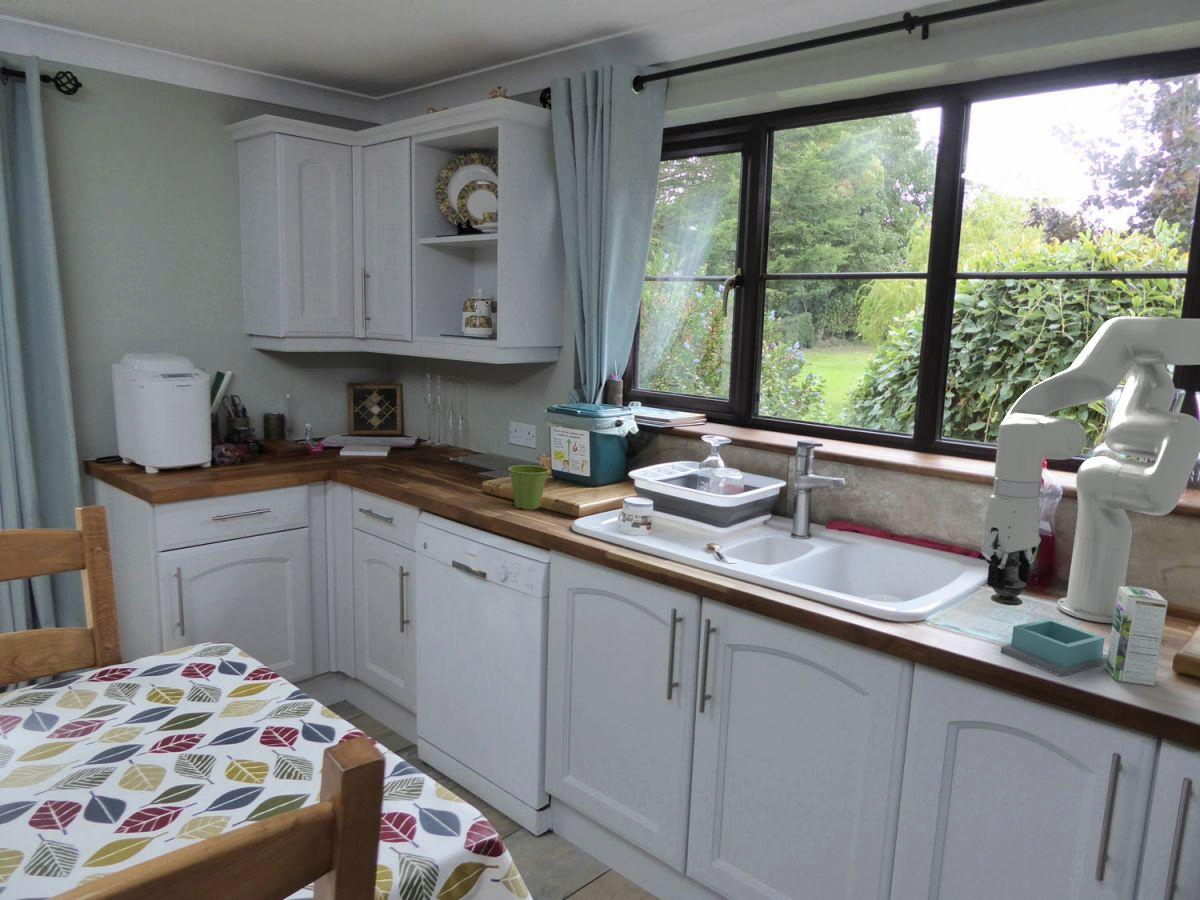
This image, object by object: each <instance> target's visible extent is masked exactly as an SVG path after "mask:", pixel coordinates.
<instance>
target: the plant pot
mask: <svg viewBox="0 0 1200 900" xmlns="http://www.w3.org/2000/svg"><path fill="white" fill-rule="evenodd" d="M507 470H508V471H509V473H510V479H511V482H512V490H513V492H512V493H513V499H514V500H513V501H514V507H515V508H516V509H523V510H526V511H527V510H536V509H539V508H541V504H540V498H541V496H542V497H543V494H544V489H545V484H546V480H547V478H548V473H549V472H550V470H551V469H549V468H548V467H544V466H540V465H531V464H530V465H528V464H527V465H526V464H525V465H523V464H522V465H512V466H509V467H508V468H507Z"/></svg>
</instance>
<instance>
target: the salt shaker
mask: <svg viewBox="0 0 1200 900" xmlns="http://www.w3.org/2000/svg"><path fill="white" fill-rule="evenodd" d="M1019 552H1020V551H1017V552H1012V553H1009V554H1008V557H1007V560H1006V563H1005V566H1004V568H1005V569H1007V570H1006V581H1005V589H1004V590H999V589H996V588H993V587H992V589H993V591H994V592H995V594H993V595H991V596H990V601H993V602H994V603H997V604H1000V605H1004V606H1013V607H1014V606H1020V605H1023V599H1020V598H1019V597H1018V596H1020V595H1021V594H1022V593H1023V590H1024V589H1025V588H1024V587H1026V585H1027V584H1026V583H1025V582H1024V581H1022V580H1020V579H1019V576H1018V568H1019V565H1020V564H1021V562H1020V561H1019Z"/></svg>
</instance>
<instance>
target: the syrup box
mask: <svg viewBox="0 0 1200 900" xmlns="http://www.w3.org/2000/svg"><path fill="white" fill-rule="evenodd" d="M1168 604H1169V602H1168V600H1166V599H1165V598H1164V597H1163V596H1162V595H1161V594H1160V593H1159V592H1157V590H1154V589H1153V590H1152V589H1150V588H1149V589H1148V588H1144V587H1136V586H1125V587H1119V590H1118V596H1117V603H1116V608H1115V614H1114V620H1113V623H1112V626H1111V634H1110V638H1109V644H1108V645H1109V646H1108V653H1107V655H1108V659H1107V663H1106V664H1105V666H1106V667H1105V668H1106V670H1107V671H1108V672H1109V673H1110V675H1111V676H1112V678H1113V679H1114V680H1115V681H1116V682H1122V683H1130V684H1137V685H1144V686H1152V687H1153V686H1155V681H1156V675H1157V669H1158V664H1159V658H1160V650H1161V646H1162V645H1161V644H1162V641H1163V640H1162V639H1163V634H1164V627H1165V620H1166V616H1167V609H1168Z"/></svg>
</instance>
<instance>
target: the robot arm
mask: <svg viewBox="0 0 1200 900" xmlns="http://www.w3.org/2000/svg"><path fill="white" fill-rule="evenodd" d="M1164 365H1170V366H1172V365H1173V366H1195V365H1196V366H1197V365H1200V318H1182V317H1181V318H1176V317H1167V316H1166V317H1165V316H1161V317H1160V316H1118V317H1114V318H1110V319H1109V320H1107V321H1106V322H1104V323H1102V325H1101V326H1100V327H1099V329H1098V330H1097V331H1096V333H1094V335H1093V337H1092V338H1091V339H1090V340H1089V341H1088V343H1087V344H1086V346H1085V347H1084V348H1083V349H1082V351H1081V352H1080V353H1079V354H1078V356H1077V358H1075V360H1074V361H1073V363H1072V364H1071V365H1070V366H1069V367H1068V368H1067V369H1065V370H1063V371H1061V372H1058V373H1057V374H1055V375H1052V376H1051V377H1048V378H1046V379H1045V380H1043V381H1041V382H1039V383H1037V384H1035V385H1033V386H1032V387H1030V388H1029V389H1027V390H1026V391H1024V393H1022V394H1021V395H1020V396H1019V398H1018V399H1016V401H1015V402H1014V404H1013V405H1012V406H1011V408H1010V409H1009V411H1008V412H1007V414H1005V416H1004V418H1003V420H1002V421H1001V422H1000V424H999V426H998V433H997V443H996V444H997V446H996V453H995V454H996V457H995V467H994V477H993V478H994V479H993V493H992V495H991V496H990V498H989V500H988V505H987V508H986V512H985V517H984V523H983V531H982V537H981V544H982V546H981V548H980V552H981V554H982V556H983V557H984V559H985V561H986V564H987V566H988V570H987V581H986V582H987V583H986V584H987V586H988V587H991V588H992V589H993V588H996V589H999V590H1004V589H1005V581H1006V570H1007V569H1005V568H1004V566H1005V563H1006V560H1007V557H1008V554H1009V553H1012V552H1017V551H1020V552H1019V561H1020V562H1021V564H1020V565H1019V568H1018V576H1019V579H1020V580H1022V581H1024V582H1025V583H1026V585H1027V584H1029V581H1030V570H1031V563H1032V562H1033V561H1034V559H1033V557H1034V556H1033V555H1035V552H1036V551H1037V548H1038V546H1039V545H1040V543H1041V541H1042V538H1041V536H1040V524H1041V505H1040V504H1041V503H1040V502H1041V501H1040V497H1041V487H1042V477H1043V476H1042V474H1043V468H1044V467H1043V463H1044V460H1045V459H1046V460H1058V461H1059V460H1069V459H1072V458H1074V457H1076V456H1079V454H1080V453H1082V451H1083V449H1084V447H1085V446H1086V443H1087V433H1086V431H1085V428H1084V426H1082V425H1081V424H1080V423H1079V422H1078V421H1076V420H1074V419H1070V418H1066V417H1060V416H1053V415H1051V414H1052V413H1054V412H1056V411H1059V410H1063V409H1067V408H1071V407H1074V406H1081V405H1085V404H1090V403H1095V402H1098V401H1101V400H1104V399H1107V398H1108V397H1110V396H1111V395H1112V394H1114V391H1115V390H1116V389H1117V387H1118V386H1119V385H1120V384H1121V382H1122V381H1123V379H1124V378H1125V385H1124V388H1123V391H1122V393H1121V396H1120V398H1119V400H1118V403H1117V405H1116V407H1115V409H1114V411H1113V413H1112V417H1111V418H1110V421H1109V424H1108V425H1107V428H1106V431H1105V435H1104V442H1105V445H1106V447H1107V448H1108V449H1109V450H1110V451H1112V452H1115V453H1116V454H1119V455H1122V456H1123V455H1124V456H1129V457H1135V458H1141V459H1146V460H1152V461H1155V462H1154V463H1152V462H1144V461H1138V460H1133V459H1128V458H1121V457H1115V456H1107V455H1100V456H1094V457H1090V458H1088V459H1086V460H1085V461H1083V462H1082V463H1081V465H1080V466H1079V468H1078V470H1077V473H1076V477H1075V478H1076V480H1075V481H1076V483H1075V484H1076V492H1077V493H1076V495H1077V515H1076V526H1075V533H1074V539H1073V548H1072V556H1071V565H1070V572H1069V579H1068V584H1067V585H1068V586H1067V593H1066V596H1065V597H1061V598H1059V599H1057V603H1056V607H1057V608H1058V609H1059V610H1060V611H1061V612H1062V613H1064V614H1067V615H1069V616H1072V617H1075V618H1078V619H1082V620H1086V621H1090V622H1095V623H1102V624H1113V620H1114V614H1115V608H1116V603H1117V596H1118V590H1119V587H1126V580H1127V579H1126V578H1127V572H1128V564H1129V557H1130V550H1131V545H1132V537H1133V528H1132V523H1131V521H1130V518H1129V517H1128V515H1127V512H1126V510H1127V511H1131V512H1135V513H1140V514H1144V515H1149V516H1160V517H1161V516H1165V515H1168V514H1169V513H1171V512H1172V511H1173V510H1174V509H1175V508H1176V506H1177V505H1178V503H1179V501H1180V499H1181V497H1182V495H1183V493H1184V490H1185V489H1186V485H1187V483H1188V481H1189V479H1190V477H1191V474H1192V471H1193V469H1194V468H1195V465H1196V463H1197V460H1198V458H1199V455H1200V421H1199V420H1198V419H1197V417H1195V416H1192V415H1191V414H1187V413H1183V412H1176V411H1170V409H1171V407H1172V404H1173V401H1174V399H1175V396H1176V387H1175V384H1174V382H1173V379H1172V377H1171V376H1170V374H1169V373H1168V371H1167V369H1166V368H1165V367H1164ZM999 548H1000V549H999ZM997 554H1000V557H998V556H997Z"/></svg>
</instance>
